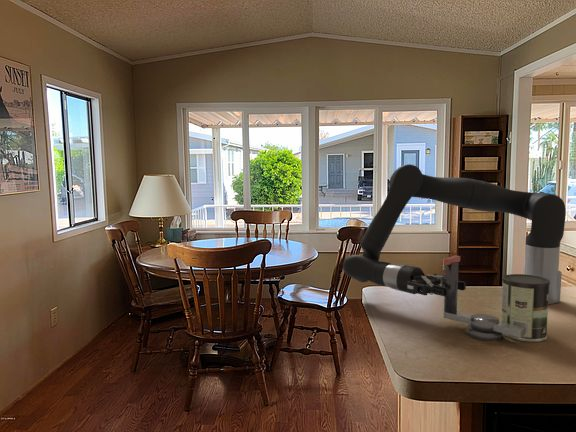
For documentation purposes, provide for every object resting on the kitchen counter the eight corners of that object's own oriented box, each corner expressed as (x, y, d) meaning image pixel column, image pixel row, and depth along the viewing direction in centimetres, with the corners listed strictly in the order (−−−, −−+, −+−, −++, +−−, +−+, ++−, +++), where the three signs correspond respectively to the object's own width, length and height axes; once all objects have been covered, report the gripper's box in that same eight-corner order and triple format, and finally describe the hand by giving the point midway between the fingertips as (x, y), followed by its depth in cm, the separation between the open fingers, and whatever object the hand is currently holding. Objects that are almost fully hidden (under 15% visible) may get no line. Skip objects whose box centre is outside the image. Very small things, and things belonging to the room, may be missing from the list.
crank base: (508, 340, 106) (509, 334, 106) (477, 341, 105) (477, 335, 105) (490, 328, 114) (490, 322, 114) (460, 329, 113) (460, 323, 113)
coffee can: (538, 328, 114) (541, 274, 113) (553, 343, 104) (557, 284, 103) (495, 325, 116) (497, 272, 115) (506, 340, 106) (509, 283, 105)
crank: (528, 334, 105) (531, 266, 103) (517, 341, 101) (520, 270, 99) (450, 314, 120) (452, 254, 118) (438, 320, 115) (440, 258, 114)
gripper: (388, 268, 121) (442, 279, 109) (417, 261, 130) (471, 270, 118) (387, 295, 122) (441, 309, 109) (417, 286, 131) (470, 298, 119)
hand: (456, 289), depth 114 cm, fingers open, 8 cm apart
